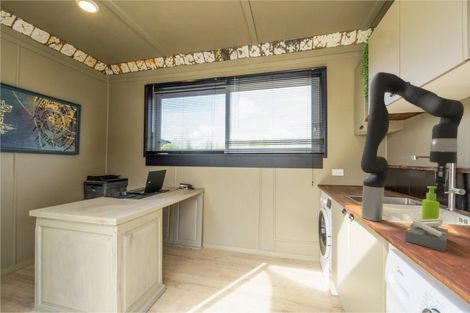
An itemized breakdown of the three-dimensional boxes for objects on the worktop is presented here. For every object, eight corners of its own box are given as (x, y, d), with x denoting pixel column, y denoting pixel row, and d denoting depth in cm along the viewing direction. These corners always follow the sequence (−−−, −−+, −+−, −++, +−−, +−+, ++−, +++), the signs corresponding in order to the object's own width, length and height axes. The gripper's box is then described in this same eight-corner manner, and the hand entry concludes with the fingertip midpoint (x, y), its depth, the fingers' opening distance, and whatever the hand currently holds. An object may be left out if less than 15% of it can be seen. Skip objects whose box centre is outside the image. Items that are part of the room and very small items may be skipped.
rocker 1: (417, 222, 92) (416, 219, 92) (442, 221, 86) (441, 218, 86) (416, 224, 89) (415, 221, 90) (442, 222, 84) (441, 219, 84)
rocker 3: (413, 221, 84) (414, 219, 83) (440, 235, 78) (442, 232, 77) (412, 223, 81) (413, 220, 81) (439, 237, 76) (441, 234, 75)
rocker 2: (415, 225, 88) (414, 222, 88) (441, 224, 82) (440, 221, 82) (413, 227, 85) (412, 224, 86) (441, 225, 80) (440, 222, 80)
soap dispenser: (443, 231, 94) (446, 188, 94) (426, 229, 96) (429, 187, 95) (434, 227, 100) (437, 186, 100) (417, 225, 101) (420, 185, 101)
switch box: (412, 230, 94) (412, 218, 94) (447, 238, 86) (448, 226, 86) (404, 240, 82) (405, 227, 82) (444, 251, 74) (445, 236, 73)
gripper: (431, 151, 88) (429, 191, 88) (428, 149, 79) (425, 194, 79) (457, 151, 82) (454, 194, 83) (456, 150, 73) (453, 198, 74)
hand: (440, 194), depth 81 cm, fingers closed
